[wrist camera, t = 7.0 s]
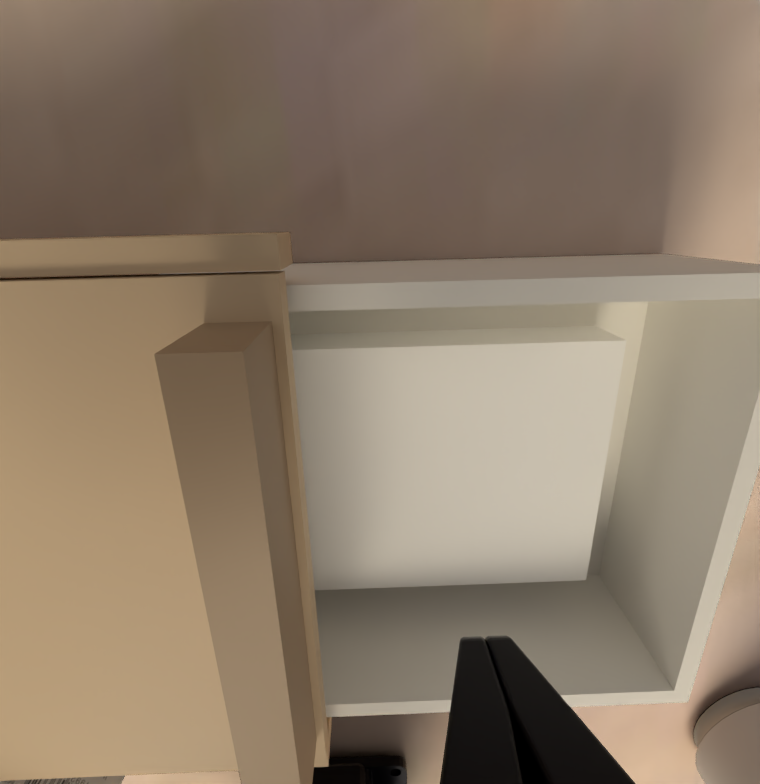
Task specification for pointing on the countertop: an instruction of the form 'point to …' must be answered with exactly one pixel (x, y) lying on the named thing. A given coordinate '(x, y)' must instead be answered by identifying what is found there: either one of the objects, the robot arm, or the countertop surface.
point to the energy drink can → (730, 740)
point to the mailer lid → (154, 513)
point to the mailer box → (523, 467)
